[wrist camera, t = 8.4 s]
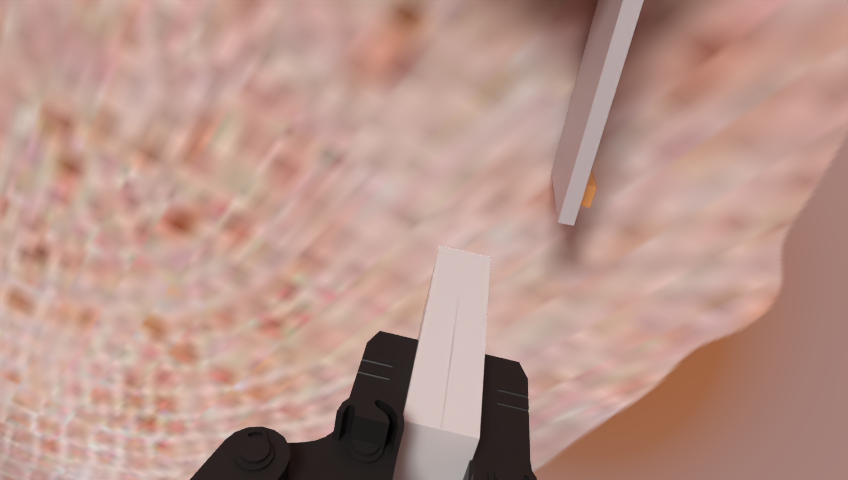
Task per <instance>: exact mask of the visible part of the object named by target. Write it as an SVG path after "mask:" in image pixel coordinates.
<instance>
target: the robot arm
mask: <svg viewBox="0 0 848 480" xmlns="http://www.w3.org/2000/svg"><path fill="white" fill-rule="evenodd" d="M490 262H491V257H488V256H484V255H480V254H475V253H471V252H467V251H462V250H458V249H454V248H449V247H445V246H441V245H439V249H438V253H437V258H436V262H435V266H434V270H433V274H432V278H431V283H430V287H429V291H428V295H427V299H426V304H425V308H424V312H423V316H422V321H421V325H420V330H419V334H418V339H417V340H416V339H412V338H408V337H403V336H399V335H395V334H391V333H386V332H382V331H379V332H378V333H377V334H376V335H375V336H374V337H373V338H372V339H371V340H370V341H368V342H367V345H366V348H365V351H364V354H363V357H362V361H361V363H360V366H359V370H358V373H357V376H356V379H355V382H354V385H353V388H352V391H351V394H350V397H349V399H347V400H345V401H344V402H343V403H342V404H341V406H340V407H339V409H338V411H337V414H336V421H335V427H334V431H333V432H332V433H331V434H329V435H328V436H326V437H324V438H321V439H319V440H316V441H310V442H299V443H287V441H286V440H285V438H284V437H283V436H282V435H280V434H279V433H278V432H276V431H275V430H272V429H269V428H265V427H248V428H245V429H242V430H240V431H237V432H235V433H233V434H232V435H231V436H230V437H228V438H227V439H226V440H225V441H224V442H223V443H222V444H221V445H220V446H219V447H218V449H217V450H216V451H215V452H214V453H213V454H212V455H211V456H210V458H209V459H208V460H207V461H206V462H205V463H204V464H203V465H202V467H201V468H200V469H199V470H198V471H197V472H196V473H195V474H194V476H193V477H192V478H191V479H190V480H537V478H536V476H535V475H534V473H533V472H532V469H531V463H530V438H529V412H528V410H529V405H528V378H527V376H526V375H525V373H524V371H523V369H522V367H521V365H520V363H519V362H516V361H512V360H508V359H503V358H499V357H495V356H490V355H486V354H485V343H486V327H487V311H488V294H489V278H490Z"/></svg>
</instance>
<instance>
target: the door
mask: <svg viewBox="0 0 848 480" xmlns="http://www.w3.org/2000/svg"><path fill="white" fill-rule="evenodd" d="M643 1H644V0H598V3H597V6H596V10H595V14H594V17H593V21H592V25H591V28H590V32H589V36H588V39H587V43H586V47H585V50H584V54H583V58H582V61H581V65H580V69H579V72H578V76H577V80H576V83H575V87H574V91H573V94H572V98H571V102H570V105H569V109H568V113H567V116H566V120H565V124H564V127H563V131H562V135H561V138H560V142H559V146H558V149H557V153H556V157H555V160H554V164H553V168H552V180H553V188H554V196H555V204H556V212H557V220H558V223H562V224H567V225H572V226H574V224H575V221H576V217H577V214H578V211H579V208H580V206H583V207H589V208H590V206H591V203H592V200H593V196H594V193H595V190H596V184H595V180H594V177H593V173H592V172H591V169H592V166H593V162H594V159H595V156H596V153H597V150H598V146H599V143H600V140H601V137H602V133H603V130H604V127H605V124H606V121H607V117H608V114H609V111H610V108H611V104H612V101H613V98H614V95H615V91H616V88H617V85H618V82H619V79H620V75H621V72H622V69H623V66H624V62H625V59H626V56H627V53H628V50H629V46H630V43H631V40H632V37H633V33H634V30H635V27H636V24H637V21H638V17H639V14H640V11H641V8H642V4H643Z"/></svg>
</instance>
